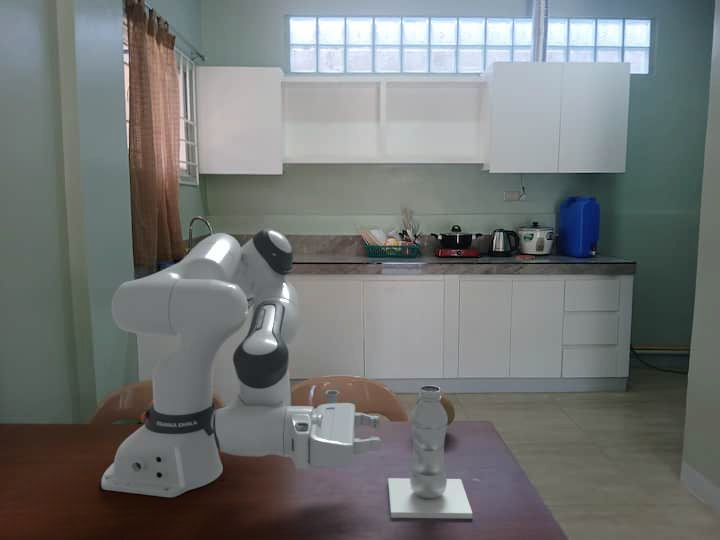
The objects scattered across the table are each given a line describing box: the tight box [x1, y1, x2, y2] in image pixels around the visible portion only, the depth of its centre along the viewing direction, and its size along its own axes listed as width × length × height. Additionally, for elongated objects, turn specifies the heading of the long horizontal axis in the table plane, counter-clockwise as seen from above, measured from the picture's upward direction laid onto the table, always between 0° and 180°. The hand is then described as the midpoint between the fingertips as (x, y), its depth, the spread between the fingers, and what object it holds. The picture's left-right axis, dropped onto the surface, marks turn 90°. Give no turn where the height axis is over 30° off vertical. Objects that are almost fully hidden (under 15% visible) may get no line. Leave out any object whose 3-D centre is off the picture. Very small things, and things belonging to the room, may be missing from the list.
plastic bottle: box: [409, 385, 448, 499], centre depth 105 cm, size 6×7×20 cm
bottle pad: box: [387, 477, 473, 520], centre depth 106 cm, size 14×12×1 cm
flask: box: [325, 389, 340, 404], centre depth 134 cm, size 7×7×10 cm
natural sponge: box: [415, 392, 456, 427], centre depth 135 cm, size 9×9×10 cm
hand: (380, 432), depth 104 cm, fingers open, 8 cm apart
